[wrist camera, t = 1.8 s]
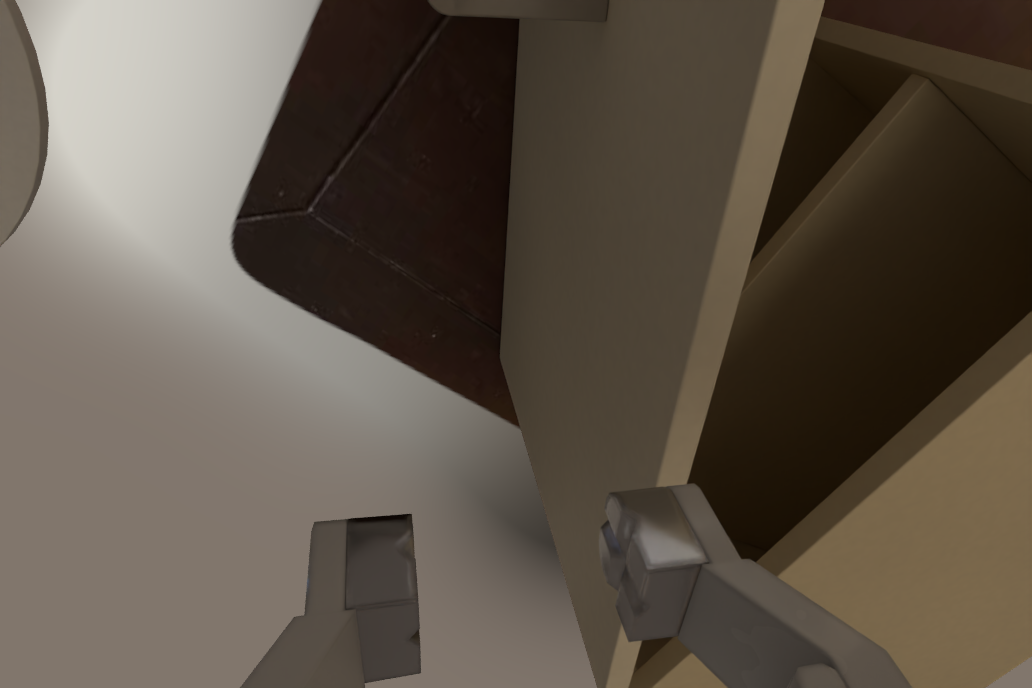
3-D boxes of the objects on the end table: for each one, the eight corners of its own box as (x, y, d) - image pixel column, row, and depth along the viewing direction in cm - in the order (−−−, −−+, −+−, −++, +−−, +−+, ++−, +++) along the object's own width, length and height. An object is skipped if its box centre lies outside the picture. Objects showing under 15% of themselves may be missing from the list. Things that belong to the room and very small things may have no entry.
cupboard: (515, 360, 45) (629, 708, 26) (776, 4, 36) (1281, 133, 16) (696, 440, 53) (889, 752, 34) (952, 167, 43) (1432, 387, 24)
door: (413, 362, 44) (452, 728, 24) (399, -112, 29) (467, -132, 10) (513, 357, 45) (625, 700, 26) (547, -100, 31) (855, -98, 11)
